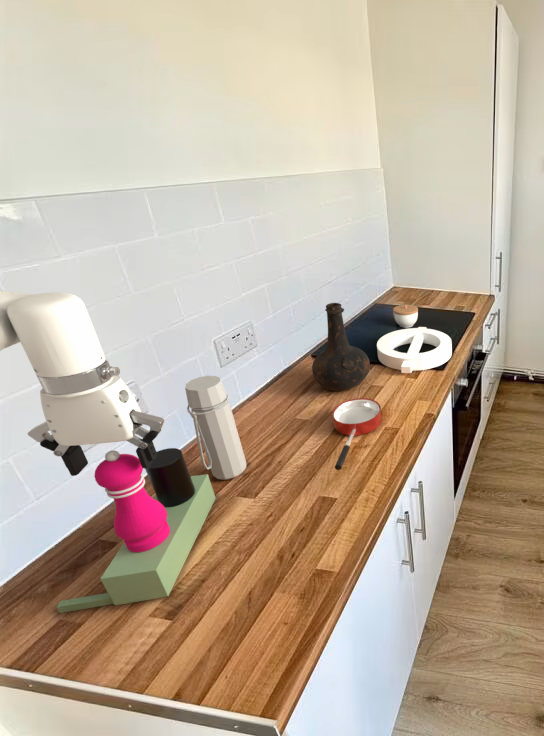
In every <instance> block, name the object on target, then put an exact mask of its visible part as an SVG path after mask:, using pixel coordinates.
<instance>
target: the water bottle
mask: <svg viewBox="0 0 544 736" xmlns="http://www.w3.org/2000/svg"><path fill="white" fill-rule="evenodd" d="M184 389H185V394H186V400H187V407H186V410H187V413H188V414H189V415H190V417H191V418H192V421H193V426H194V431H195V434H196V435H195V436H196V441H197V446H198V452H199V458H200V462H201V464H202V466H203V468H204V469H205V470H210V471H211V474H212V476H213V477H214V478H216V479H217V480H224V481H225V480H231V479H235V478H237V477H238V476H240V475H242V473H243V472H244V471H245V470H246V469H247V461H246V457H245V453H244V450H243V449H244V448H243V446H242V443H241V439H240V435H239V431H238V428H237V425H236V421H235V417H234V414H233V410H232V406H231V403H230V400H229V397H230V395H229V394H228V393H227V391H226V389H225V386H224V384H223V382H222V379H221V378H220V377H219V376H217V375H205V376H199V377H196V378H194V379H191V380H190V381H188V382H187V383H185V387H184ZM190 409H191V410H190ZM202 446H203V447H202ZM203 450H204V453H205V456H206V459H207V462H208V465H207V464H206V462H205V458H204V453H203Z"/></svg>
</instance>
